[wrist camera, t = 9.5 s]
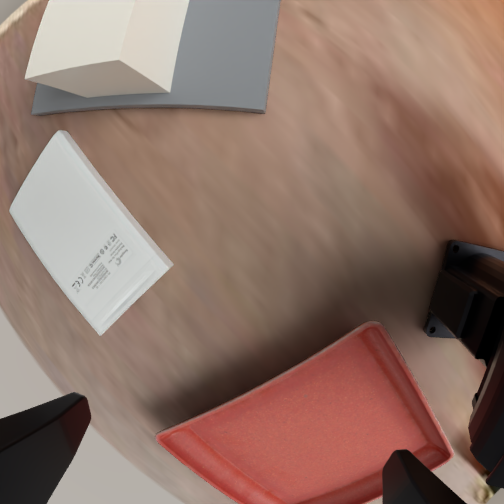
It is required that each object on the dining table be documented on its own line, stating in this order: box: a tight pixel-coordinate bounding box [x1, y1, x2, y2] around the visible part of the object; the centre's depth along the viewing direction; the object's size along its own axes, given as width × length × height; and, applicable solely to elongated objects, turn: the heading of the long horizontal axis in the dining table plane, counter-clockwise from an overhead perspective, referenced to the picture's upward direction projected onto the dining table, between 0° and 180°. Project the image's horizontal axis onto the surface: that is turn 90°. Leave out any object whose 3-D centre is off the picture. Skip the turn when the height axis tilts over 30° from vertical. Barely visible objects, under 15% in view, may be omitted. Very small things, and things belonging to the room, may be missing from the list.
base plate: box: [31, 0, 281, 116], centre depth 14 cm, size 17×11×4 cm, turn 83°
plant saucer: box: [155, 321, 454, 504], centre depth 20 cm, size 18×18×3 cm
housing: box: [25, 0, 189, 98], centre depth 12 cm, size 10×6×6 cm, turn 173°
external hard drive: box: [9, 130, 174, 336], centre depth 19 cm, size 2×8×12 cm
